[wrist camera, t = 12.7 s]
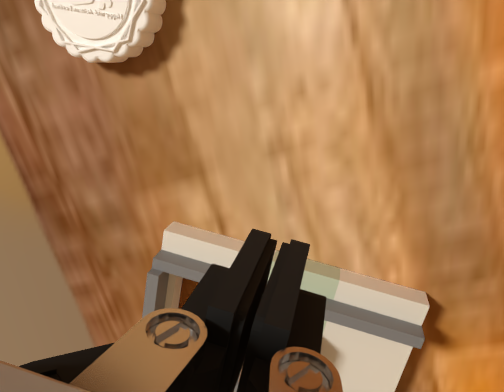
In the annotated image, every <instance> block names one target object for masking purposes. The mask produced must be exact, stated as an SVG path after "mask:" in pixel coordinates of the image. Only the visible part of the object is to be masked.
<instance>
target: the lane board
mask: <svg viewBox="0 0 504 392" xmlns="http://www.w3.org/2000/svg"><path fill="white" fill-rule="evenodd" d="M244 242H245V241H242V240H238V239H235V238H231V237H228V236H224V235H220V234H217V233H213V232H210V231H206V230H203V229H199V228H196V227H192V226H188V225H185V224H181V223H178V222H174V221H173V222H172V223H171V224H170V225H169V226H168V227H167V228H166V229H165V230H164V234H163V242H162V250H161V251H160V252H159V253H158V254H157V255H156V256H155V257H154V258H153V264H152V269H151V270H150V271H149V272H148V273H147V282H146V290H145V299H144V307H143V316H142V318H143V317H145V316H146V315H148V314H149V313H151V312H153V311H156V310H159V309H166V308H176V309H178V306H179V300H180V293H181V287H182V280H183V278H186V279H189V280H193V281H196V282H200V280H201V279H202V277H203V276H204V275H205V273H206V272H207V270H208V269H209V267H210V266H211V265H212V264H217V265H220V266H224V267H227V268H230V267H231V265H232V263H233V261H234V260H235V258H236V256H237V255H238V253H239V251H240V249H241V248H242V246H243V244H244ZM278 253H279V251H277V250H275V252H274V256H273V261H272V265H271V269H270V273H269V277H270V275H271V272H272V269H273V267H274V264H275V261H276V259H277V256H278ZM269 277H268V280H269ZM267 283H268V282H267ZM300 289H302V290H306V291H309V292H312V293H316V294H319V295H323V296H326V308H325V318H324V327H323V336H322V345H321V355H323V356H324V357H326V358H327V359H328V360H329V361H330V362H331V363H332V364H333V365H334V366H335V368H336V369H337V370H338V372H339V375H340V378H341V383H342V389H343V392H395V389H396V387H397V384H398V382H399V380H400V377H401V375H402V372H403V370H404V367H405V365H406V363H407V360H408V358H409V355H410V353H411V351H412V348H413V347H415V348H418V349H421V347H422V345H423V342H424V340H425V337H424V333H423V329H422V324H423V321H424V319H425V317H426V314H427V312H428V309H429V307H430V305H429V302H428V299H427V295H426V292H423V291H419V290H416V289H412V288H409V287H405V286H402V285H398V284H394V283H391V282H387V281H384V280H380V279H377V278H373V277H370V276H366V275H363V274H359V273H355V272H352V271H348V270H345V269H341V268H338V267H334V266H331V265H327V264H323V263H320V262H316V261H313V260H309V259H307V260H306V265H305V269H304V274H303V278H302V282H301V287H300ZM240 373H241V372H240ZM239 377H240V375H239ZM238 381H239V378H238ZM238 381H237V383H236V386H235V389H234V392H237V388H238V384H239V382H238Z"/></svg>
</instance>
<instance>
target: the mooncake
mask: <svg viewBox="0 0 504 392" xmlns="http://www.w3.org/2000/svg"><path fill="white" fill-rule="evenodd" d="M35 6H36V9H37V10H38V12H39V13H41V14H42V23H43V26H44V27H45V29H46V30H48V31H49V32H51V33H52V35H53V39H54V41H55V42H56V43H57V44H58V45H59V46H61V47H66V49H67V51H68V52H69V53H70V54H71V55H72V56H74V57H83V58H84V59H85V60H86V61H88V62H91V63H98V62H105V63H115V62H124V61H126V60H127V59H128V57H137V56H139V55H140V54H141V53H142V51H143V47H148V46H150V45H151V44H152V43H153V41H154V37H155V36H154V33H156V32H158V31H159V30H160V29H161V27H162V17H161V14H163V13H164V11H165V9H166V0H35Z"/></svg>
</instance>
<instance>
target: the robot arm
mask: <svg viewBox="0 0 504 392" xmlns="http://www.w3.org/2000/svg"><path fill="white" fill-rule="evenodd" d="M270 238H271V234H270V233H267V232H263V231H259V230H256V229H252V230H251V232H250V234H249V235H248V237H247V239H246V241H245V242H244V244H243V246H242V248H241V249H240V251H239V253H238V255H237V256H236V258H235V260H234V261H233V263H232V265H231V267H230V268H227V267H224V266H220V265H217V264H212V265H211V266H210V267H209V269H208V270H207V272H206V273H205V275H204V276H203V277H202V279H201V280H200V282H199V283H198V285H197V286H196V288H195V289H194V291H193V292H192V294H191V295H190V297H189V298H188V300H187V301H186V303H185V304H184V306H183V307H182V309H176V308H166V309H159V310H156V311H153V312H151V313H149V314H148V315H146V316H145V317H143V318H142V319H141V320H140V321H139V322H138V323H137V324H136V325H134V326H133V327H132V328H131V329H130V330H129V331H128V332H127V333H126V334H124V335H123V336H122V337H121V338H120V339H119V340H118V341H117V342H115V343H111V344H107V345H103V346H98V347H94V348H90V349H85V350H81V351H77V352H73V353H68V354H64V355H59V356H55V357H51V358H46V359H42V360H38V361H33V362H30V363H27V364H24V365H21V366H19V367H18V366H15V365H12V364H9V363H7V362H4V361H1V360H0V392H234V389H235V386H236V383H237V381H238V378H239V375H240V372H241V375H240V380H239V384H238V388H237V392H343V389H342V383H341V378H340V375H339V372H338V370H337V369H336V368H335V366H334V365H333V364H332V363H331V362H330V361H329V360H328V359H327V358H326V357H324V356H323V355H321V345H322V336H323V327H324V318H325V308H326V296H323V295H319V294H316V293H312V292H309V291H306V290H302V289H300V287H301V282H302V278H303V274H304V269H305V265H306V260H307V256H308V251H309V247H310V244H307V243H303V242H299V241H296V240H292V239H291V242H290V244H287V243H284V242H283V243H282V245H281V248H280V251H279V253H278V256H277V259H276V261H275V264H274V267H273V269H272V272H271V275H270V277H269V273H270V269H271V265H272V261H273V256H274V252H275V248H276V244H277V240H273V239H270ZM268 277H269V280H268ZM267 282H268V283H267ZM242 366H243V367H242ZM241 369H242V371H241Z"/></svg>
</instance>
